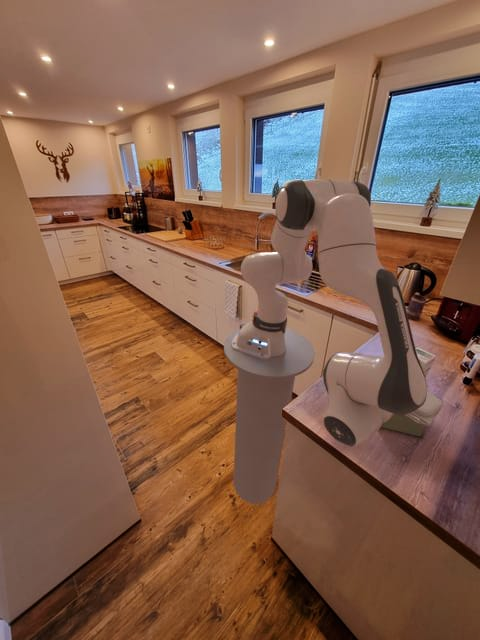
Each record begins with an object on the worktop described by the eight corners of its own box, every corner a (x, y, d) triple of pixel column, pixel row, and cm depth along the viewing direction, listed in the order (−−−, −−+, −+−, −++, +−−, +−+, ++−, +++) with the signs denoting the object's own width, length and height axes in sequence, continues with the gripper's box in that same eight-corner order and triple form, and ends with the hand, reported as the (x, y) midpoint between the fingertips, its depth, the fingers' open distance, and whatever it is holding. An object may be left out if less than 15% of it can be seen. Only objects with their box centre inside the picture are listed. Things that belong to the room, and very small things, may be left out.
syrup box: (417, 396, 75) (437, 355, 68) (407, 404, 72) (426, 362, 65) (398, 384, 79) (415, 344, 72) (387, 391, 76) (403, 350, 70)
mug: (420, 321, 135) (429, 300, 129) (405, 318, 138) (413, 297, 132) (417, 313, 144) (425, 293, 138) (402, 310, 146) (410, 290, 140)
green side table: (374, 425, 77) (385, 398, 71) (368, 396, 87) (378, 370, 82) (420, 436, 74) (435, 408, 69) (409, 405, 84) (421, 379, 79)
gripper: (433, 417, 52) (457, 388, 59) (343, 364, 66) (371, 346, 73) (422, 438, 55) (445, 408, 62) (337, 383, 69) (365, 364, 76)
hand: (405, 374), depth 68 cm, fingers open, 8 cm apart
